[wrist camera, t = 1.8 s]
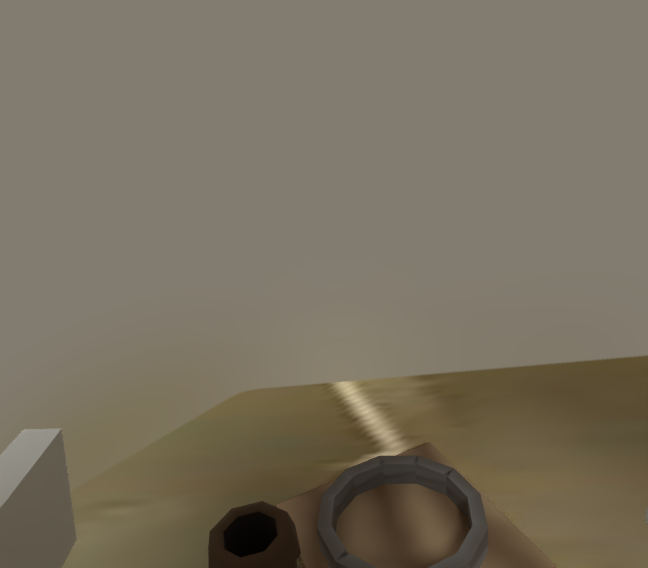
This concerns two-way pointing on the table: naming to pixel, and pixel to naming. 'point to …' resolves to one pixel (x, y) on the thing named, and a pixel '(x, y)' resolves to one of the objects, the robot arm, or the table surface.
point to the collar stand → (406, 519)
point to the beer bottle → (254, 539)
